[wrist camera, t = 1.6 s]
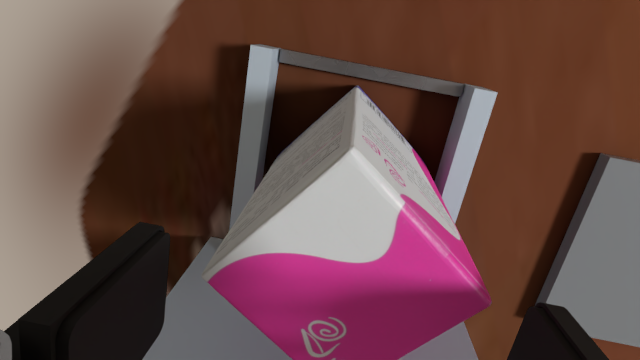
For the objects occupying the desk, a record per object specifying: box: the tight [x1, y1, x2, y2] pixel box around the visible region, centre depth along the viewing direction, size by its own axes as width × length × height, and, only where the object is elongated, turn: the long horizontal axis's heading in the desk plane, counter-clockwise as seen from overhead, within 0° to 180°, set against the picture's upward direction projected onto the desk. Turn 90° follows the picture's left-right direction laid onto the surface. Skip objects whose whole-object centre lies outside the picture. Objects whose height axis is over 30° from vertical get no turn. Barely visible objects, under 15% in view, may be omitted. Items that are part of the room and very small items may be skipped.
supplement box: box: [202, 85, 492, 360], centre depth 16 cm, size 6×6×12 cm
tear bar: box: [279, 49, 464, 97], centre depth 19 cm, size 1×9×1 cm, turn 79°
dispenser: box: [142, 44, 498, 360], centre depth 16 cm, size 19×14×14 cm
